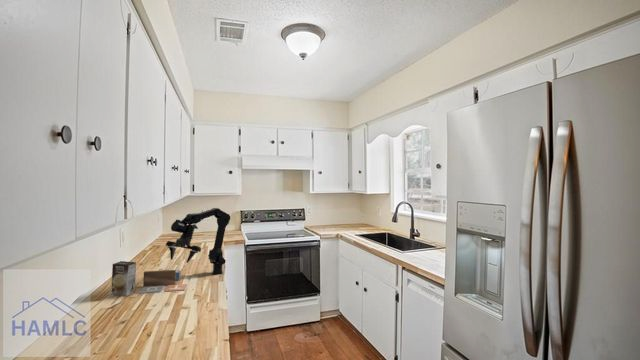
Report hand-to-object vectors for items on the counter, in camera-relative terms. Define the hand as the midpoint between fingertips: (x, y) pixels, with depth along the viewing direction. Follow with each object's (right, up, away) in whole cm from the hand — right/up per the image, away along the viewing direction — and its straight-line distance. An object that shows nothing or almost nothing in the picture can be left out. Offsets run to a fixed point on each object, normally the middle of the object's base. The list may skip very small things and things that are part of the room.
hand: (179, 261), depth 176 cm
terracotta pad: (+1, -13, -7) cm, 15 cm away
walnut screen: (-10, -13, -2) cm, 17 cm away
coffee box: (-22, -13, -17) cm, 30 cm away
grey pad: (-10, -13, -10) cm, 19 cm away
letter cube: (-6, -14, +9) cm, 17 cm away
